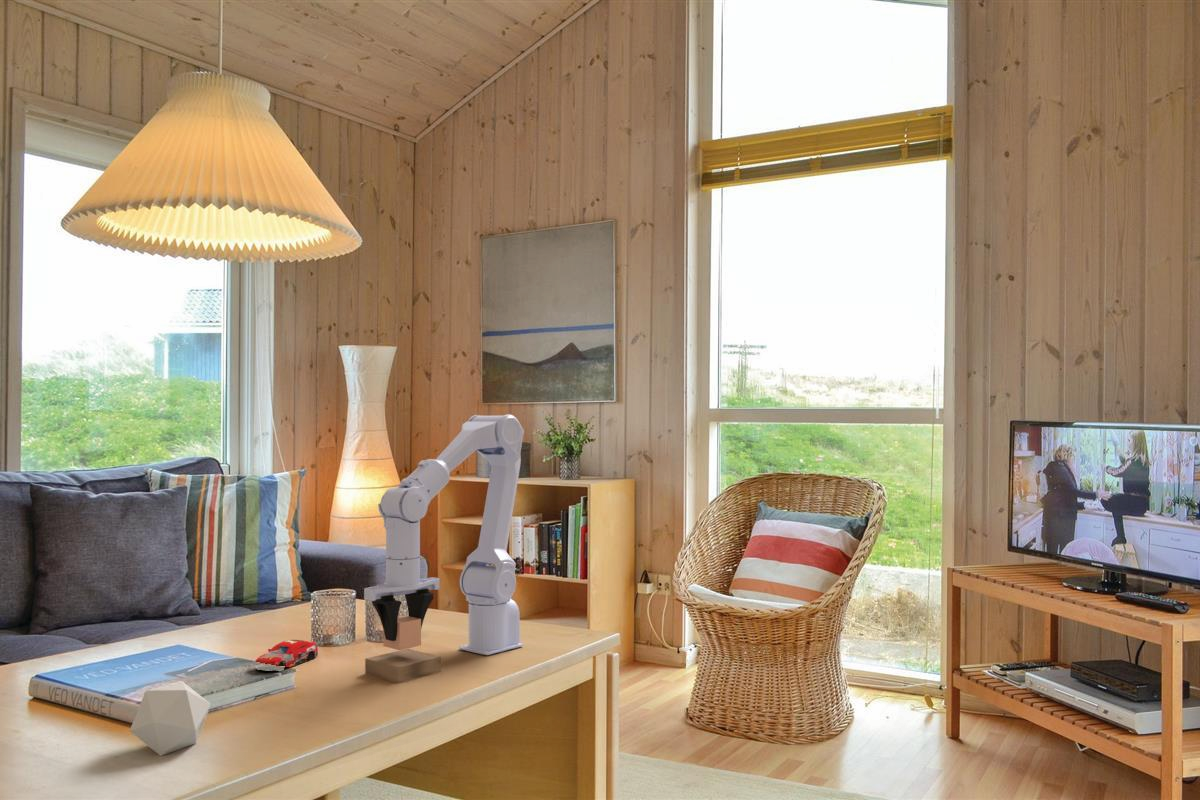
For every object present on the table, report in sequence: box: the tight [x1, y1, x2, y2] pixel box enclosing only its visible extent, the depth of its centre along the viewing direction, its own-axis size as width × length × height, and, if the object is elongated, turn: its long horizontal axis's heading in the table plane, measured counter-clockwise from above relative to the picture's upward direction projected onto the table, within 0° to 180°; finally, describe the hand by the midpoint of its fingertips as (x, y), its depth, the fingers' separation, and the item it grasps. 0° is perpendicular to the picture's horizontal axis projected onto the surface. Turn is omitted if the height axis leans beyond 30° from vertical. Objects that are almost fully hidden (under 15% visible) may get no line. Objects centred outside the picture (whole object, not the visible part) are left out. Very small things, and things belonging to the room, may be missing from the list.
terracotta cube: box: [382, 615, 422, 651], centre depth 160 cm, size 4×4×4 cm
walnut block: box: [364, 648, 442, 684], centre depth 160 cm, size 9×9×3 cm
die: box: [129, 680, 212, 756], centre depth 124 cm, size 8×9×10 cm
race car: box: [254, 639, 319, 668], centre depth 166 cm, size 13×5×4 cm, turn 157°
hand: (403, 637), depth 160 cm, fingers closed on terracotta cube, 4 cm apart
